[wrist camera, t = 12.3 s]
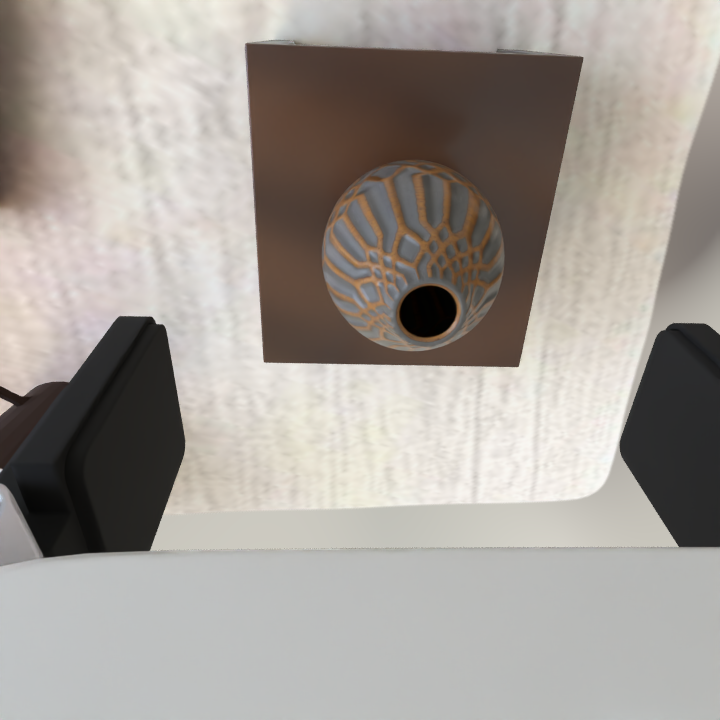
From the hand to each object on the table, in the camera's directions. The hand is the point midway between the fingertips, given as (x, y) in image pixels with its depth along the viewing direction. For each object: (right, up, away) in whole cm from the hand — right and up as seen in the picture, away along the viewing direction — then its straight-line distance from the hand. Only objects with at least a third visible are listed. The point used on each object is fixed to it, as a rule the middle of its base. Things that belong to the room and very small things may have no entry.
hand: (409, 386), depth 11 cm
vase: (+1, +6, +14) cm, 16 cm away
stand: (+1, +11, +22) cm, 25 cm away
